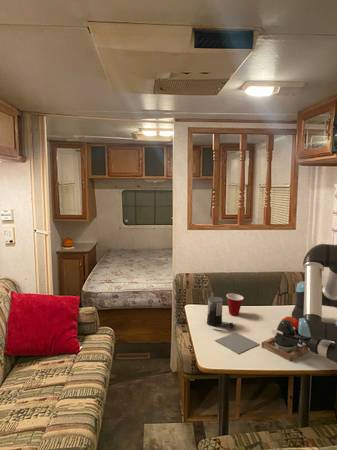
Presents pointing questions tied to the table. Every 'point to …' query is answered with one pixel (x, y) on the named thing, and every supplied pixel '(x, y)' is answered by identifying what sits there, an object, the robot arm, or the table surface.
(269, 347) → the walnut collar
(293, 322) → the tomato
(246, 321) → the table surface
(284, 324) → the pump dispenser
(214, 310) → the milk frother
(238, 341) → the rubber mat
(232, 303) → the plastic cup
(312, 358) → the table surface
